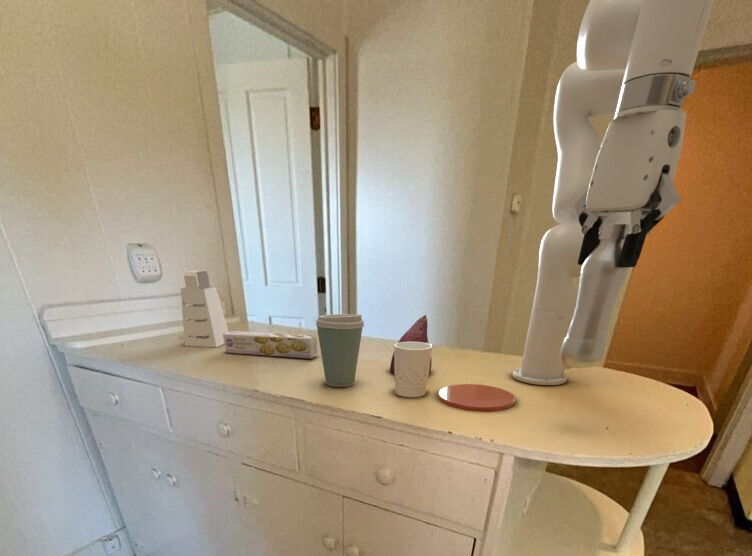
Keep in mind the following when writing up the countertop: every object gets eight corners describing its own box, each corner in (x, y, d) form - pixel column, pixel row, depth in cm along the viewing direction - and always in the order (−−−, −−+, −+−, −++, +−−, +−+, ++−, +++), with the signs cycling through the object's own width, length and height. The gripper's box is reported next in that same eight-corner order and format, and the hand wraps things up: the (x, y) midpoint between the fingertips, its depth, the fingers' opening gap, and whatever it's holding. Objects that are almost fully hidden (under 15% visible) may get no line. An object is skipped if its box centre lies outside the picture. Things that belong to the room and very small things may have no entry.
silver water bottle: (549, 362, 74) (582, 224, 63) (587, 362, 75) (625, 225, 64) (567, 372, 69) (606, 223, 58) (607, 371, 69) (652, 224, 59)
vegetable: (426, 380, 114) (446, 321, 107) (427, 386, 104) (449, 322, 98) (389, 368, 113) (406, 308, 107) (386, 373, 104) (405, 308, 97)
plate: (481, 384, 100) (482, 380, 100) (531, 404, 88) (532, 400, 88) (424, 392, 94) (424, 389, 94) (468, 415, 82) (469, 411, 82)
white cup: (431, 390, 96) (435, 343, 90) (423, 400, 89) (427, 350, 84) (397, 386, 98) (400, 340, 92) (388, 396, 92) (389, 347, 86)
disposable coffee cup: (308, 383, 99) (304, 313, 91) (341, 374, 106) (340, 308, 98) (340, 393, 93) (338, 318, 85) (373, 383, 100) (374, 313, 92)
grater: (184, 345, 132) (169, 271, 121) (201, 339, 141) (188, 269, 130) (216, 347, 131) (203, 272, 120) (231, 340, 140) (220, 270, 129)
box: (225, 353, 124) (221, 332, 121) (235, 349, 128) (231, 329, 125) (311, 360, 118) (310, 338, 115) (318, 356, 122) (317, 335, 119)
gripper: (740, 90, 49) (677, 268, 59) (610, 120, 62) (576, 262, 72) (701, 80, 46) (642, 269, 56) (573, 114, 59) (543, 263, 69)
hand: (605, 264), depth 64 cm, fingers closed on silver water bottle, 6 cm apart
